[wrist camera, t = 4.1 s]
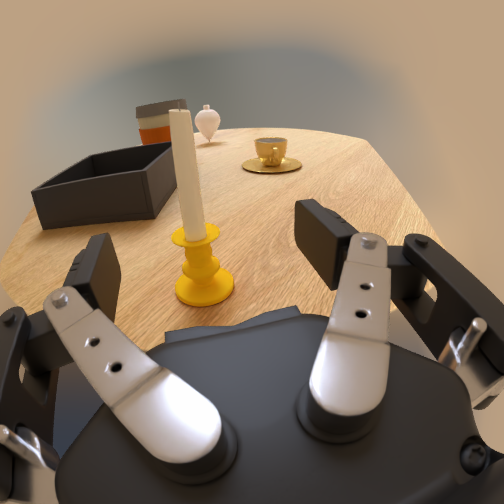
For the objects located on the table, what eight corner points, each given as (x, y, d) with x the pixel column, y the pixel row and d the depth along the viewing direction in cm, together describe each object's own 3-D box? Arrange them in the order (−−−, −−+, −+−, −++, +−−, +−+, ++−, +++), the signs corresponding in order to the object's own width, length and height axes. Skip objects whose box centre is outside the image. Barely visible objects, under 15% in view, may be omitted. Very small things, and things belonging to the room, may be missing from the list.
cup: (239, 161, 62) (237, 137, 59) (292, 157, 63) (292, 134, 60) (245, 176, 52) (244, 147, 49) (309, 172, 53) (309, 144, 50)
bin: (42, 229, 40) (30, 191, 36) (96, 184, 58) (90, 155, 54) (155, 218, 39) (145, 170, 35) (186, 172, 57) (182, 139, 54)
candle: (239, 271, 27) (224, 96, 19) (226, 309, 23) (202, 99, 15) (187, 268, 28) (160, 104, 20) (167, 303, 24) (125, 112, 16)
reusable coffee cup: (139, 171, 63) (129, 108, 55) (147, 159, 73) (139, 106, 65) (192, 162, 64) (185, 99, 56) (192, 151, 75) (187, 98, 67)
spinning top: (198, 141, 88) (195, 105, 81) (222, 139, 88) (220, 103, 81) (195, 146, 81) (191, 107, 75) (221, 144, 81) (218, 104, 75)
